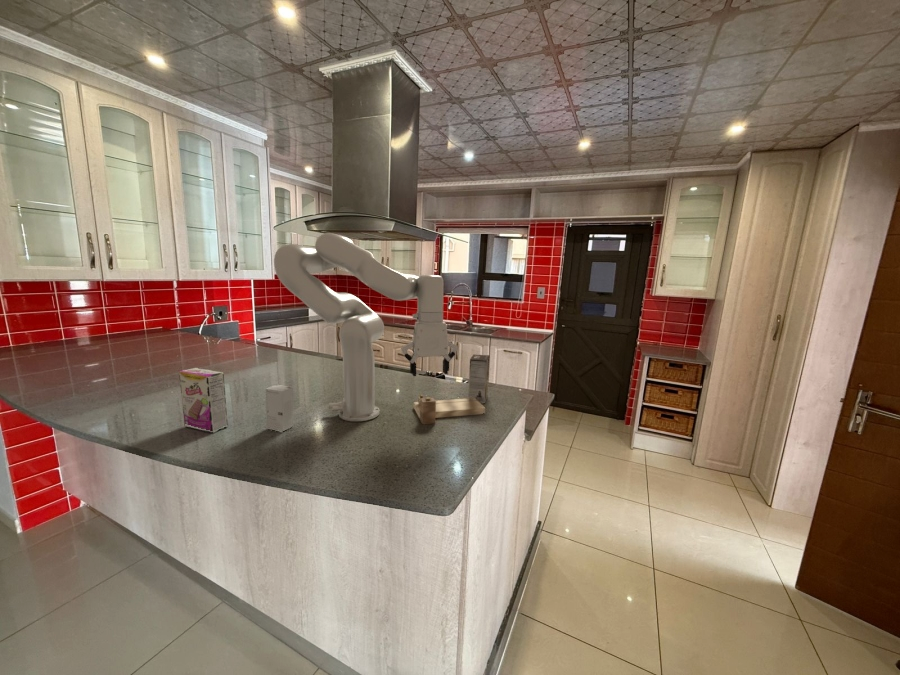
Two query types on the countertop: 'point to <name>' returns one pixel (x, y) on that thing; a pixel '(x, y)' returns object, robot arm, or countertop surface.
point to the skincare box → (279, 407)
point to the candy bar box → (203, 398)
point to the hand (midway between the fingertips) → (429, 374)
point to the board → (455, 407)
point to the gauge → (427, 409)
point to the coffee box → (479, 377)
